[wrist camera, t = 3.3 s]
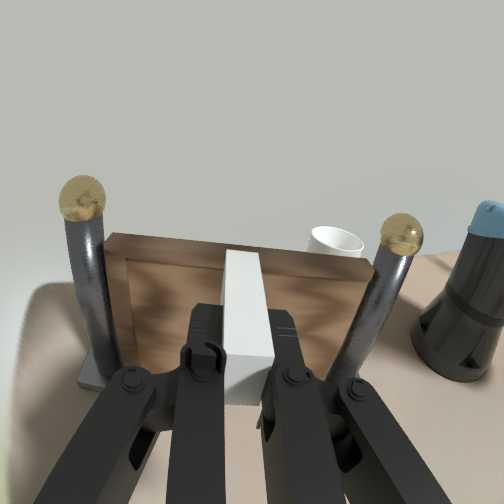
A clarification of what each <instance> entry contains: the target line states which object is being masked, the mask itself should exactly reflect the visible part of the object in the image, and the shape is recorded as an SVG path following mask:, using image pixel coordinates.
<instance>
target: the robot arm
mask: <svg viewBox="0 0 504 504" xmlns="http://www.w3.org/2000/svg"><path fill="white" fill-rule="evenodd" d="M467 231H468V234H467V237H466V240H465V242H464V245H463V247H462V249H461V252H460V254H459V257H458V259H457V261H456V264H455V266H454V268H453V270H452V272H451V275H450V277H449V279H448V281H447V283H446V285H445V287H444V289H443V290H442V292H441V293H440V294H439V295H438V296H437V297H436V298H435V299H434V300H433V301H432V302H431V303H430V304H429V305H428V306H427V307H426V308H425V309H424V310H423V311H422V312H421V313H420V314H419V316H418V317H417V319H416V321H415V323H414V325H413V327H412V330H411V337H412V341H413V344H414V346H415V348H416V350H417V352H418V353H419V355H420V356H421V357H422V359H423V360H424V361H425V362H426V363H427V364H428V365H429V366H430V367H431V368H433V369H434V370H435V371H437V372H438V373H440V374H441V375H443V376H445V377H447V378H449V379H452V380H455V381H459V382H471V381H475V380H477V379H478V378H480V377H481V376H482V374H483V373H484V372H485V371H486V369H487V368H488V367H489V365H490V363H491V361H492V358H493V355H494V352H495V349H496V346H497V343H498V340H499V337H500V334H501V331H502V328H503V326H504V204H503V203H499V202H495V201H490V200H488V201H484V202H482V203H481V204H480V205H479V206H478V208H477V210H476V212H475V215H474V218H473V220H472V222H471V225H470V226H469V227H468V230H467ZM295 328H296V327H295V324H294V320H293V318H292V316H291V315H290V314H289V313H288V312H287V310H280V309H267V305H266V298H265V292H264V286H263V280H262V274H261V268H260V261H259V255H258V253H254V252H246V251H237V250H228V249H227V251H226V258H225V266H224V274H223V282H222V290H221V301H220V305H215V304H205V303H197V305H196V306H195V307H194V308H193V309H192V310H191V316H190V322H189V329H188V334H187V341H186V344H185V345H183V347H182V349H181V351H180V366H178V367H177V368H176V369H174V370H172V371H170V372H166V373H160V374H151V373H150V372H149V371H148V370H146V369H145V368H143V367H139V366H126V367H123V368H121V369H119V370H118V371H117V372H116V373H115V374H114V375H113V376H112V378H111V379H110V381H109V382H108V384H107V385H106V387H105V388H104V389H103V391H102V393H101V394H100V396H99V397H98V399H97V400H96V402H95V403H94V405H93V406H92V408H91V409H90V411H89V412H88V414H87V415H86V417H85V419H84V420H83V422H82V423H81V425H80V426H79V428H78V429H77V431H76V433H75V434H74V436H73V437H72V439H71V441H70V442H69V444H68V445H67V447H66V449H65V450H64V452H63V454H62V455H61V457H60V459H59V460H58V462H57V463H56V465H55V467H54V468H53V470H52V472H51V474H50V475H49V477H48V479H47V480H46V482H45V484H44V486H43V487H42V489H41V491H40V493H39V494H38V496H37V498H36V500H35V501H34V503H33V504H128V502H129V500H130V498H131V496H132V493H133V491H134V489H135V487H136V484H137V482H138V480H139V478H140V476H141V473H142V471H143V469H144V467H145V465H146V462H147V460H148V458H149V456H150V454H151V451H152V449H153V447H154V445H155V443H156V440H157V438H158V436H159V434H160V432H161V431H168V430H172V438H171V447H170V457H169V468H168V479H167V492H166V504H226V491H225V436H224V404H230V405H251V406H259V404H260V401H261V400H262V411H261V414H260V417H259V420H258V422H257V427H256V429H259V428H260V426H261V437H262V448H263V459H264V470H265V481H266V492H267V502H268V504H346V499H345V495H346V497H347V499H348V501H349V502H350V504H452V503H451V501H450V500H449V498H448V497H447V495H446V494H445V492H444V491H443V489H442V488H441V486H440V485H439V483H438V482H437V480H436V479H435V477H434V476H433V474H432V472H431V471H430V469H429V468H428V466H427V465H426V463H425V462H424V460H423V459H422V458H421V456H420V455H419V453H418V452H417V450H416V449H415V447H414V446H413V444H412V443H411V441H410V440H409V438H408V437H407V435H406V434H405V432H404V431H403V429H402V428H401V427H400V425H399V424H398V422H397V421H396V419H395V418H394V416H393V415H392V413H391V412H390V411H389V409H388V408H387V406H386V405H385V403H384V402H383V400H382V399H381V398H380V396H379V395H378V393H377V392H376V390H375V389H374V388H373V386H372V385H371V384H370V383H369V382H367V381H365V380H363V379H361V378H356V377H353V378H347V379H345V380H343V381H342V383H341V384H340V385H339V384H334V383H330V382H326V381H323V380H320V379H318V378H316V377H315V376H314V374H313V372H312V371H311V370H310V369H309V368H308V367H306V366H305V363H304V359H303V355H302V351H301V347H300V343H299V339H298V337H297V331H296V329H295ZM344 493H345V495H344Z"/></svg>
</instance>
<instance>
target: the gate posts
mask: <svg viewBox="0 0 504 504" xmlns="http://www.w3.org/2000/svg"><path fill="white" fill-rule="evenodd" d="M105 203H106V195H105V191H104V189H103V187H102V185H101V183H100V182H99V181H97V180H96V179H95V178H93V177H91V176H87V175H81V176H76V177H74V178H72V179H70V180H69V181H68V182H67V183H66V184H65V185H64V187H63V188H62V190H61V192H60V196H59V208H60V211H61V213H62V215H63V217H64V221H65V230H66V238H67V245H68V251H69V257H70V263H71V269H72V274H73V280H74V284H75V289H76V294H77V298H78V303H79V307H80V311H81V315H82V319H83V323H84V326H85V330H86V334H87V337H88V340H89V344H90V347H91V348H90V350H89V352H88V355H87V357H86V359H85V361H84V364H83V366H82V368H81V371H80V373H79V376H78V378H77V380H76V381H77V384H78V386H79V387H82V388H86V389H90V390H94V391H98V392H102V391H103V389H104V388H105V387H106V385H107V384H108V382H109V381H110V379H111V378H112V376H113V375H114V374H115V373H116V372H117V371H118V370H119V369H121V368H123V367H124V363H123V359H122V355H121V350H120V346H119V341H118V336H117V331H116V326H115V321H114V315H113V310H112V304H111V298H110V291H109V284H108V277H107V269H106V260H105V250H104V229H103V211H104V208H105ZM380 240H381V242H380V245H379V248H378V251H377V254H376V257H375V260H374V263H373V265H372V267H373V268H374V269H375V272H374V274H373V277H372V280H371V281H369V282H368V284H367V287H366V289H365V292H364V294H363V297H362V299H361V302H360V304H359V307H358V309H357V311H356V314H355V316H354V318H353V321H352V323H351V325H350V328H349V330H348V332H347V334H346V337H345V339H344V341H343V343H342V345H341V347H340V350H339V352H338V354H337V356H336V358H335V360H334V362H333V364H332V366H331V368H330V370H329V372H328V374H327V376H326V378H325V380H324V381H326V382H330V383H334V384H339V385H340V384H341V383H342V381H343V380H345V379H347V378H353V377H356V378H360V376H359V373H358V371H359V369H360V368H361V366H362V364H363V362H364V361H365V359H366V357H367V355H368V353H369V352H370V350H371V348H372V346H373V344H374V342H375V340H376V339H377V337H378V335H379V333H380V331H381V329H382V327H383V325H384V323H385V321H386V319H387V317H388V315H389V313H390V310H391V308H392V306H393V304H394V302H395V300H396V298H397V295H398V293H399V291H400V289H401V286H402V284H403V282H404V279H405V277H406V275H407V272H408V270H409V267H410V265H411V262H412V260H413V257H414V255H415V254H417V252H418V251H419V250H420V248H421V246H422V243H423V229H422V227H421V225H420V223H419V222H418V221H417V220H416V219H415V218H414V217H413V216H411V215H409V214H406V213H398V214H394V215H392V216H390V217H389V218H388V219H387V220H386V221H385V222H384V224H383V225H382V228H381V232H380Z"/></svg>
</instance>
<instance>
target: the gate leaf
mask: <svg viewBox="0 0 504 504" xmlns="http://www.w3.org/2000/svg"><path fill="white" fill-rule="evenodd" d="M227 249H228V250H237V251H246V252H254V253H258V255H259V261H260V268H261V274H262V280H263V286H264V292H265V298H266V305H267V309H280V310H287V312H288V313H289V314H290V315H291V316H292V318H293V320H294V324H295V327H296V328H295V329H296V331H297V337H298V339H299V343H300V347H301V351H302V355H303V359H304V363H305V366H306V367H308V368H309V369H310V370H311V371H312V372H313V374H314V376H315V377H316V378H318V379H320V380H323V381H324V380H325V378H326V376H327V374H328V372H329V370H330V368H331V366H332V364H333V362H334V360H335V358H336V356H337V354H338V352H339V350H340V347H341V345H342V343H343V341H344V339H345V337H346V334H347V332H348V330H349V328H350V325H351V323H352V321H353V318H354V316H355V314H356V311H357V309H358V307H359V304H360V302H361V299H362V297H363V294H364V292H365V289H366V287H367V284H368V282H369V281H371V280H372V277H373V274H374V272H375V269H374V268H373V267H372V265H371V264H370V263H369V261H368V260H367V259H365V258H356V257H347V256H337V255H328V254H319V253H309V252H300V251H290V250H281V249H272V248H262V247H252V246H243V245H233V244H223V243H213V242H204V241H194V240H183V239H173V238H163V237H153V236H144V235H134V234H123V233H112V234H111V235H110V236H109V237H108V239H107V240H106V241H105V242H104V250H105V260H106V269H107V277H108V284H109V291H110V298H111V304H112V310H113V315H114V321H115V326H116V331H117V336H118V341H119V346H120V350H121V355H122V359H123V363H124V367H126V366H139V367H143V368H145V369H146V370H148V371H149V372H150V373H151V374H160V373H166V372H170V371H172V370H174V369H176V368H177V367H178V366H180V351H181V349H182V347H183V345H185V344H186V341H187V334H188V329H189V322H190V316H191V310H192V309H193V308H194V307H195V306H196V305H197V303H205V304H215V305H220V301H221V290H222V282H223V274H224V266H225V258H226V251H227Z"/></svg>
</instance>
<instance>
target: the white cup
mask: <svg viewBox="0 0 504 504" xmlns="http://www.w3.org/2000/svg"><path fill="white" fill-rule="evenodd" d="M363 248H364V244H363V242H362V241H361V240H360V239H359V238H358V237H357V236H355V235H353V234H351V233H350V232H347V231H345V230H342V229H339V228H334V227H328V226H319V227H315V228H313V229H312V230H311V234H310V240H309V245H308V250H307V252H309V253H319V254H328V255H337V256H347V257H356V258H360V255H361V253H362V250H363Z"/></svg>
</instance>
